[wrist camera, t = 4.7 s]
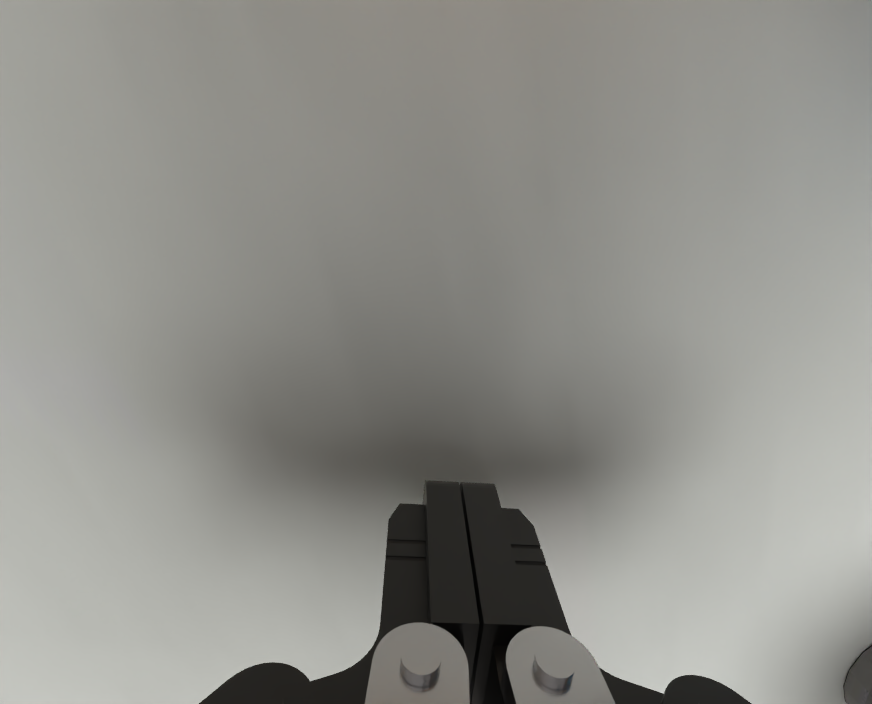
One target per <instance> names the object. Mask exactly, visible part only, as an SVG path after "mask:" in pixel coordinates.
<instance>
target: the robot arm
mask: <svg viewBox="0 0 872 704" xmlns="http://www.w3.org/2000/svg"><path fill="white" fill-rule="evenodd" d="M199 704H751V703H750V702H748V701H747V700H746V699H744V698H743V697H742V696H740V695H739V694H737V693H736V692H735V691H733V690H732V689H730V688H728V687H727V686H725V685H723V684H721V683H719V682H717V681H714V680H712V679H709V678H706V677H702V676H696V675H685V676H681V677H678V678H676V679H674V680H672V681H671V682H670V683H669V684H668V686H667V688H666V690H665V693H664V694H663V693H660V692H657V691H654V690H651V689H648V688H645V687H642V686H639V685H636V684H633V683H630V682H627V681H624V680H622V679H619V678H617V677H614V676H612V675H611V674H609V673H607V672H605V671H604V670H602V669H601V668H599V666H598V664H597V663H596V661H595V659H594V657H593V656H592V655H591V653H590V652H589V651H588V649H587V648H586V647H585V646H584V645H583V644H582V643H580V642H579V641H578V640H577V639H575V638H574V637H572V636H571V633H570V631H569V628H568V625H567V622H566V619H565V617H564V614H563V611H562V608H561V605H560V602H559V599H558V596H557V593H556V590H555V587H554V584H553V581H552V579H551V576H550V573H549V570H548V567H547V566H546V561H545V558H544V555H543V552H542V549H540V543H539V541H538V538H537V535H536V532H535V529H534V526H533V525H532V524H531V523H530V521H529V520H528V519H527V518H526V517H525V516H524V515H523V514H522V513H521V511H520V510H519V509H507V508H501V506H500V502H499V498H498V494H497V490H496V487H495V485H494V484H486V483H467V482H461V483H460V485H459V482H445V481H425V485H424V495H423V505H420V504H399V506H398V507H397V509H396V510H395V511H394V513H393V514H392V516H391V517H390V518H389V523H388V535H387V548H386V560H385V572H384V585H383V597H382V610H381V622H380V630H379V634H378V637H377V640H376V641H375V643H374V645H373V647H372V648H371V650H370V651H369V652H368V654H367V655H366V656H365V657H363V658H362V659H361V660H360V661H359V662H358V663H356V664H355V665H354V666H352V667H350V668H348V669H346V670H344V671H342V672H339V673H336V674H333V675H330V676H327V677H324V678H320V679H317V680H314V681H309V679H308V678H307V677H306V676H305V675H304V674H303V673H302V672H301V671H299V670H298V669H297V668H295V667H292V666H290V665H287V664H283V663H263V664H259V665H255V666H252V667H249V668H247V669H245V670H243V671H241V672H239V673H237V674H236V675H234V676H233V677H231V678H230V679H229V680H227V681H226V682H225V683H224V684H222V685H221V686H220V687H219V688H218V689H216V690H215V691H214V692H213V693H211V694H210V695H209V696H208V697H207V698H205V699H204V700H203V701H202V702H201V703H199Z"/></svg>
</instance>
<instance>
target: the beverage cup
mask: <svg viewBox="0 0 872 704" xmlns="http://www.w3.org/2000/svg"><path fill="white" fill-rule="evenodd" d="M844 692H845V700H846V702H847V703H848V704H872V646H871V647H870V648H869V649H867V650H866V651H865V652H864V653H862V654H861V656H860V657H859V658H858V660H857V661H856V662H855V664H854V665H853V666H852V668H851V669H850V670H849V673H848V676H847V679H846V682H845V685H844Z"/></svg>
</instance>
